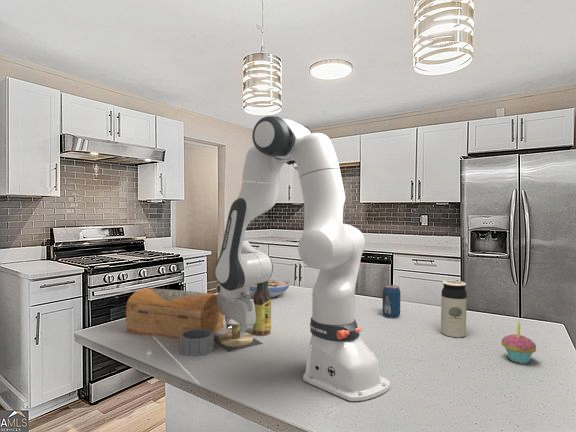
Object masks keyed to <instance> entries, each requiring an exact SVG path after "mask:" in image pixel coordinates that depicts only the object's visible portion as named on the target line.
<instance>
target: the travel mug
mask: <svg viewBox="0 0 576 432" xmlns="http://www.w3.org/2000/svg"><path fill="white" fill-rule="evenodd" d="M442 285H443V287H442V289H441V300H440V303H441V305H440V306H441V307H440V333H441V334H442V335H444V336H446V337H450V338H451V337H452V338H459V339H460V338H464V337H465V336H466V335H467V303H468V302H467V300H468V299H467V298H468V297H467V295H468V294H467V291H466V288H465V287H466V285H467V283H466V282H464V281H460V280H443V281H442Z"/></svg>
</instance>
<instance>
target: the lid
mask: <svg viewBox="0 0 576 432" xmlns="http://www.w3.org/2000/svg"><path fill="white" fill-rule="evenodd" d="M232 324H233V325H232V329H231V332H230V331H229V332H226V333H223V334H221V335H218V336H219V338H218V342H219V344H221V345H223V346H227V347H241V346H246V345H248V344H250V343H252V342H253V338H254V336H253V334H251V333H248V332H245V337H240V336H238V331H239V330H240V326H239V323H232Z"/></svg>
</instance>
